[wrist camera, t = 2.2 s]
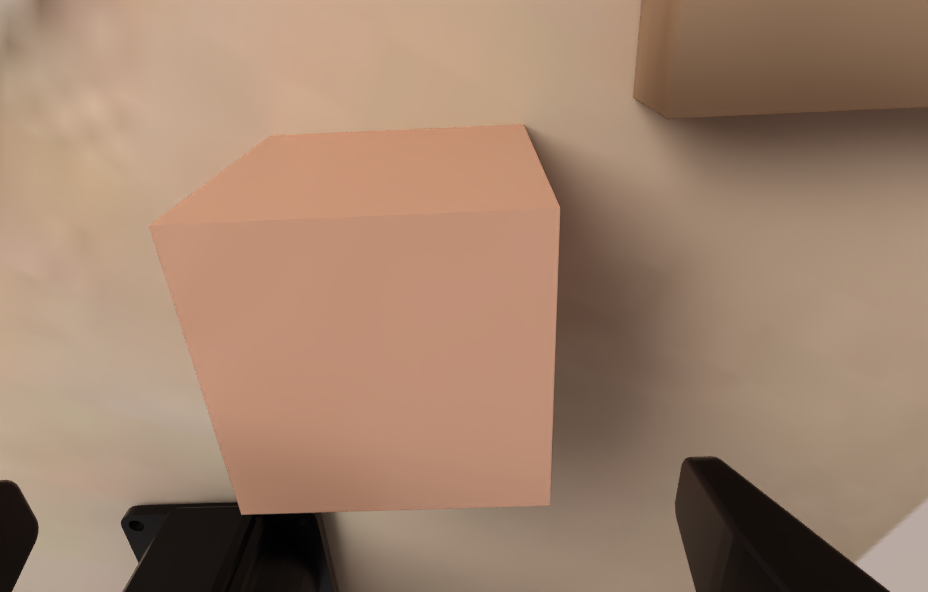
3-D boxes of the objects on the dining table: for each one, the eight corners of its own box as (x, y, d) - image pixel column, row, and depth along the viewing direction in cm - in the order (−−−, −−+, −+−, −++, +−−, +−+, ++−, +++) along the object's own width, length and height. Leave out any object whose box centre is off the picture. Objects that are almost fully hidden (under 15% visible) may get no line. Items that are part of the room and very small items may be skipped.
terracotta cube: (522, 339, 16) (550, 505, 11) (313, 346, 17) (241, 514, 11) (523, 123, 14) (560, 208, 8) (271, 134, 14) (148, 224, 8)
